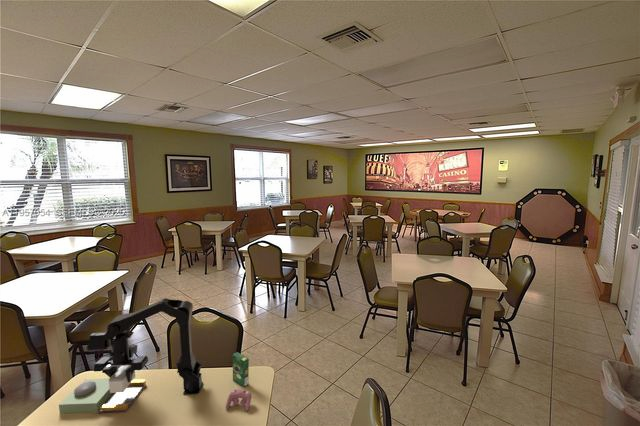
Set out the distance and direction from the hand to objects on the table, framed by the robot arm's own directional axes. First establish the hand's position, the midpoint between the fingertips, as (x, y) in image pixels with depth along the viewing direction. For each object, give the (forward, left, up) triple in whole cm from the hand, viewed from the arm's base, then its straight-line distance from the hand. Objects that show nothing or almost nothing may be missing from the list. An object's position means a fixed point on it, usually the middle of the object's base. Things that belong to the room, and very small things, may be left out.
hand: (123, 381), depth 120 cm
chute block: (0, 0, -1) cm, 1 cm away
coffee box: (-47, -7, -8) cm, 48 cm away
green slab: (+13, 0, -8) cm, 15 cm away
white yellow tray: (0, 0, -8) cm, 8 cm away
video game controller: (-49, +6, -8) cm, 50 cm away
